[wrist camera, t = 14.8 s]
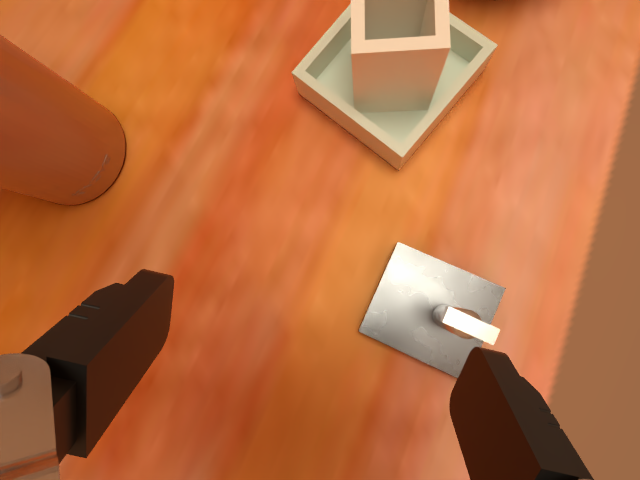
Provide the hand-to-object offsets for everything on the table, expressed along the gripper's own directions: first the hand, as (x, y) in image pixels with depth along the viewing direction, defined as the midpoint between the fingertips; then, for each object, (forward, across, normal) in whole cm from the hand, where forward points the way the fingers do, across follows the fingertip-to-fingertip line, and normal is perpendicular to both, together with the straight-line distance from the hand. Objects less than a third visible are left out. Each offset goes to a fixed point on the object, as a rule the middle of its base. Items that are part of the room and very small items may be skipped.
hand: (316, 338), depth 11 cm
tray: (+26, -2, -7) cm, 27 cm away
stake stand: (+17, -9, +8) cm, 21 cm away
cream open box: (+25, -2, -7) cm, 26 cm away
